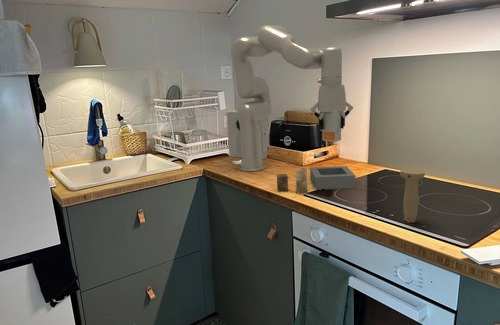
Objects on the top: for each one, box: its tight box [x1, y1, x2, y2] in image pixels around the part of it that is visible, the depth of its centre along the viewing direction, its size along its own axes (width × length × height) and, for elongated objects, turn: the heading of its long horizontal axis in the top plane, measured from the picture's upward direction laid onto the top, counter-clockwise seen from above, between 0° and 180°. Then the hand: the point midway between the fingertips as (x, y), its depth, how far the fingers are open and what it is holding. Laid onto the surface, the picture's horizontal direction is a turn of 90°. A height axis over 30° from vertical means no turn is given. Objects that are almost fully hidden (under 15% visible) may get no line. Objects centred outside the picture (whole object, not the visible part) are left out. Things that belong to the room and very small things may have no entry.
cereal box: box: [226, 109, 270, 160], centre depth 205 cm, size 22×8×25 cm, turn 60°
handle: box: [399, 168, 426, 223], centre depth 109 cm, size 5×6×15 cm
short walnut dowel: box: [276, 173, 289, 193], centre depth 145 cm, size 4×4×6 cm
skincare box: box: [322, 110, 342, 143], centre depth 146 cm, size 6×4×12 cm
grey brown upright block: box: [295, 167, 308, 195], centre depth 141 cm, size 4×4×9 cm
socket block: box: [309, 165, 356, 191], centre depth 151 cm, size 15×15×5 cm
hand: (331, 128), depth 146 cm, fingers closed on skincare box, 7 cm apart
